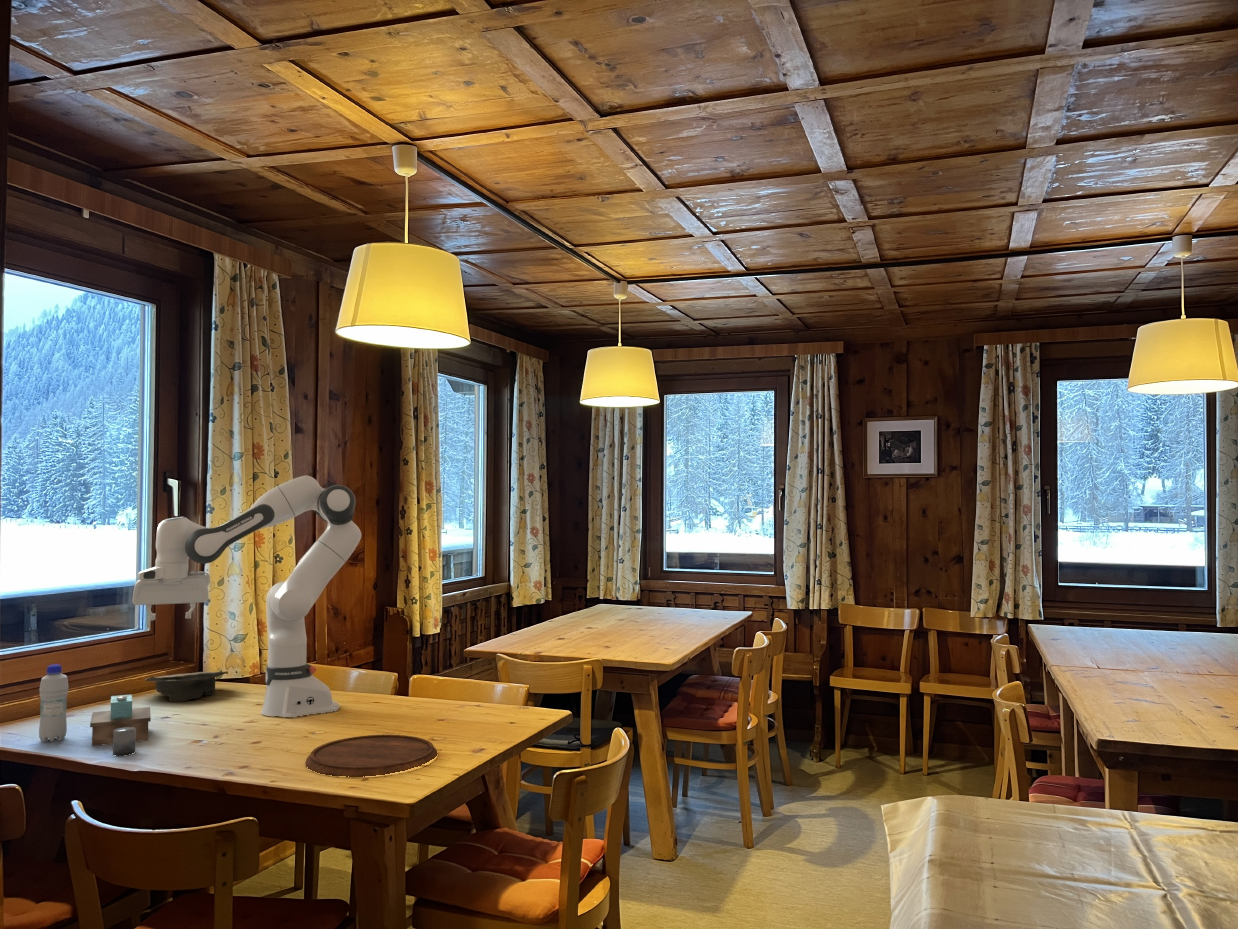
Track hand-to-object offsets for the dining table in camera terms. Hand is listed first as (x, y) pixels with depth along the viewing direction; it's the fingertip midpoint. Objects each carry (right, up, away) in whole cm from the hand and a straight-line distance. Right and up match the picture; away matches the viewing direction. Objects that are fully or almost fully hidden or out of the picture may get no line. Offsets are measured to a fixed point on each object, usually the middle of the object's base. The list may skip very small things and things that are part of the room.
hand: (170, 619), depth 267 cm
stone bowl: (-10, -31, +30) cm, 44 cm away
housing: (-2, -22, -22) cm, 31 cm away
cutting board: (+71, -29, -40) cm, 86 cm away
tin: (+7, -28, -37) cm, 47 cm away
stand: (-3, -28, -22) cm, 36 cm away
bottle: (-19, -28, -25) cm, 42 cm away
